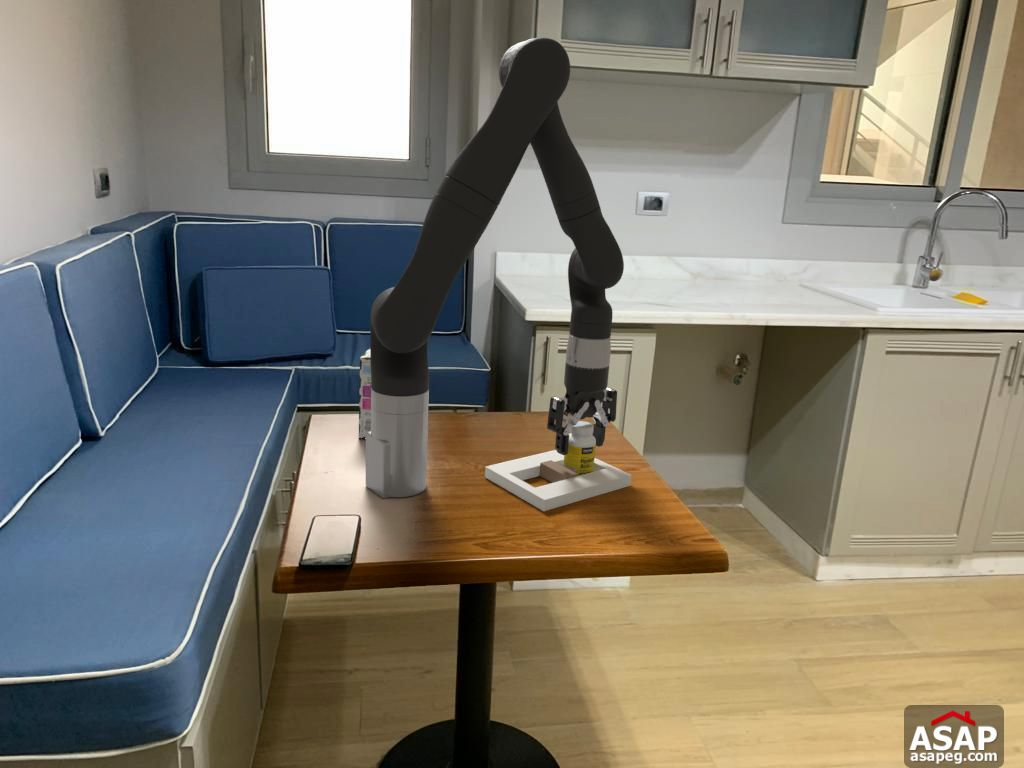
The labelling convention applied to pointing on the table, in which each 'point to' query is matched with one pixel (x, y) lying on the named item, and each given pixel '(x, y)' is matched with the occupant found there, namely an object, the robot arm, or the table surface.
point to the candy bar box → (365, 395)
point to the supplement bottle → (581, 449)
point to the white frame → (555, 480)
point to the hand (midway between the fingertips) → (579, 449)
